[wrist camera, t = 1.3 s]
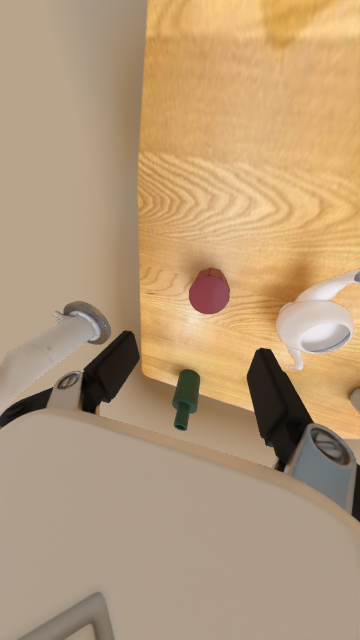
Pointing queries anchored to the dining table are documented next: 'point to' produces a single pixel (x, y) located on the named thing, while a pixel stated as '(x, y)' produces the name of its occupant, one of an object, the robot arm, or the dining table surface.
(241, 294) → the dining table surface
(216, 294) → the grooved red cylinder
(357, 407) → the jar
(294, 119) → the dining table surface
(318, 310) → the teapot
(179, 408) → the green bottle
